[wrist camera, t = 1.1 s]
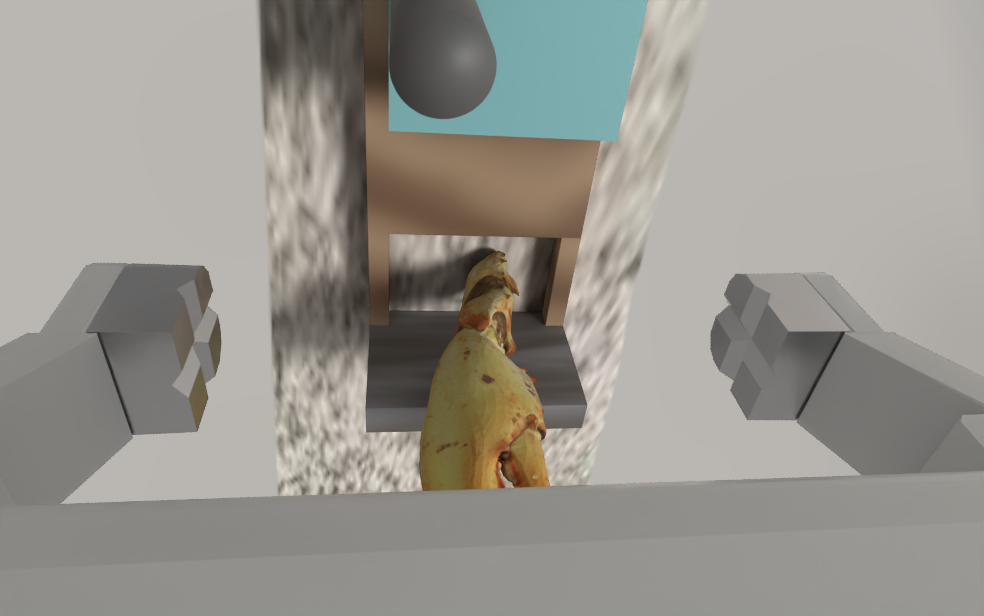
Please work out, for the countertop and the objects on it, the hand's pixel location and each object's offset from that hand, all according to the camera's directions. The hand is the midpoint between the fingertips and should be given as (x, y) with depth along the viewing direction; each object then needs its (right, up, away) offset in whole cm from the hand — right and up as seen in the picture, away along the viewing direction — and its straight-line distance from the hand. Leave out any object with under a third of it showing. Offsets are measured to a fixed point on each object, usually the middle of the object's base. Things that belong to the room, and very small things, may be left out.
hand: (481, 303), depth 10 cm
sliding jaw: (0, +14, +22) cm, 26 cm away
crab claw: (-1, +2, +33) cm, 33 cm away
